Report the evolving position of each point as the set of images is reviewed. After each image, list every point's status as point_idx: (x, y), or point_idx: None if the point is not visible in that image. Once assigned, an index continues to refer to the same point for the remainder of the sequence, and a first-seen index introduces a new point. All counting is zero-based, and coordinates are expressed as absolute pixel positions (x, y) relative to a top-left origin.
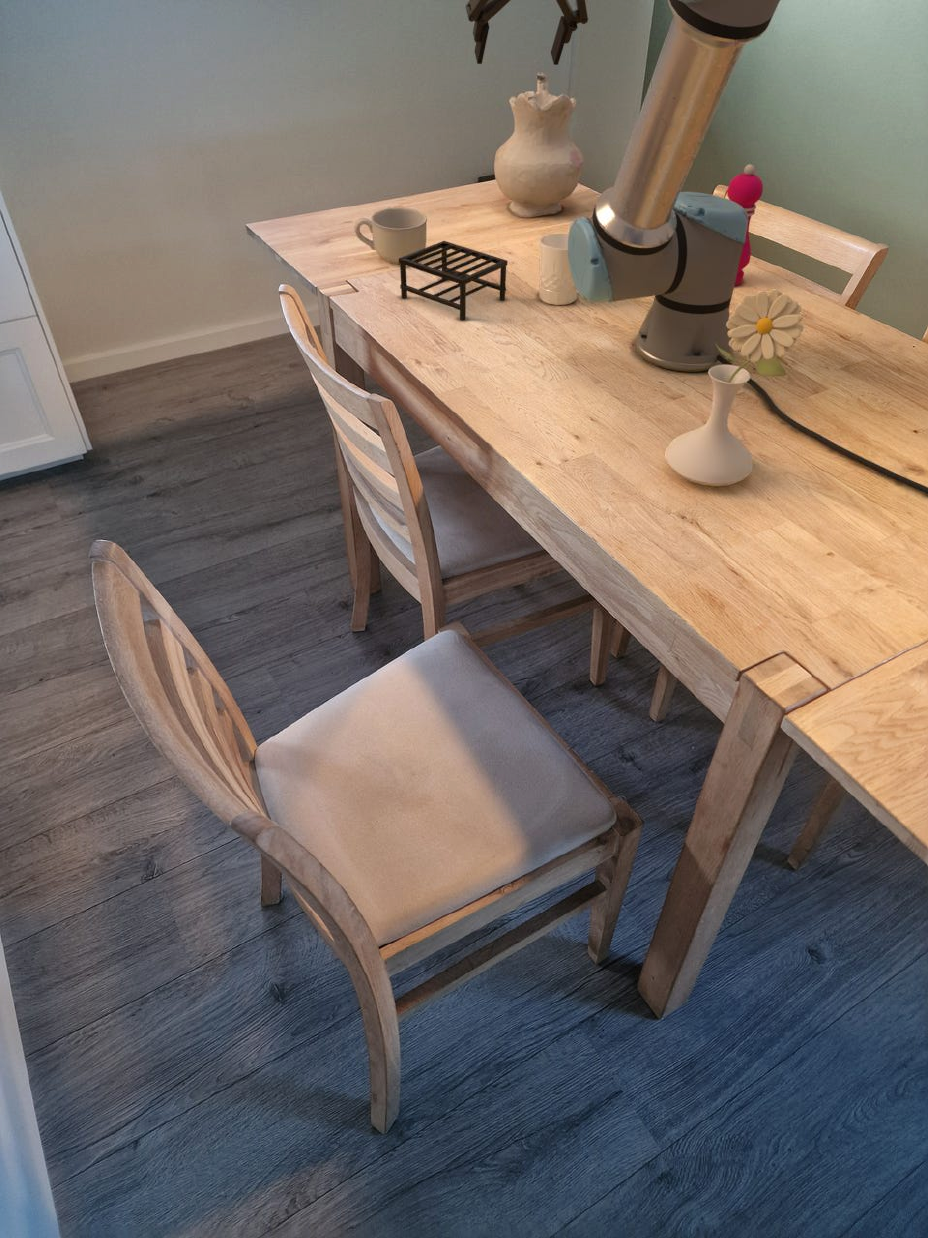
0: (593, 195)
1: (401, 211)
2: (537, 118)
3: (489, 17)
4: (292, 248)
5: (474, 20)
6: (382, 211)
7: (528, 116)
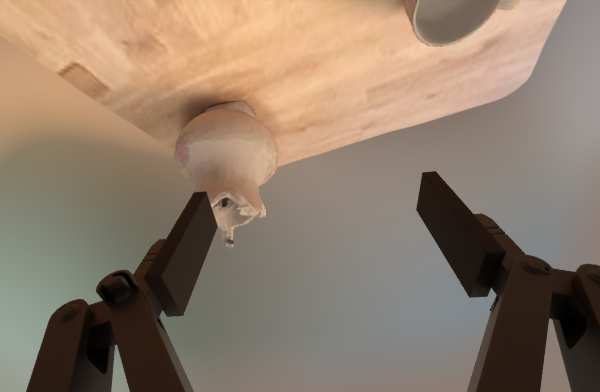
0: (169, 148)
1: (433, 39)
2: (233, 187)
3: (519, 285)
4: (539, 25)
5: (557, 269)
6: (464, 34)
7: (244, 191)
